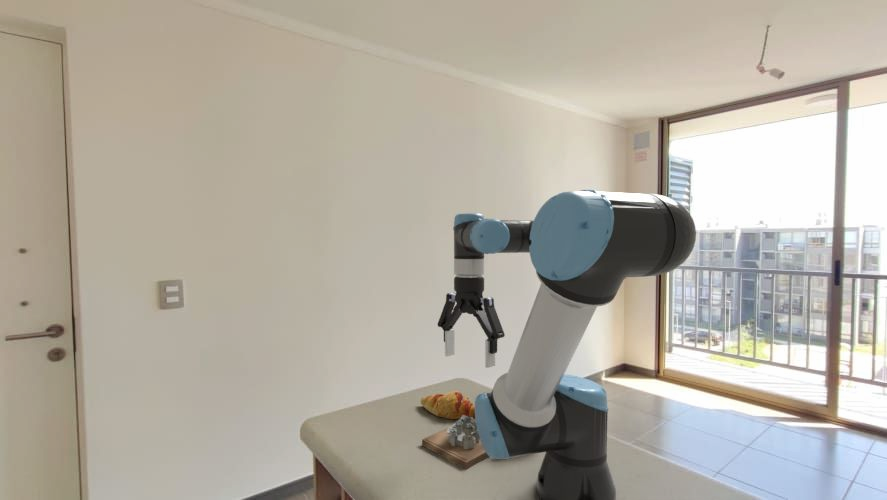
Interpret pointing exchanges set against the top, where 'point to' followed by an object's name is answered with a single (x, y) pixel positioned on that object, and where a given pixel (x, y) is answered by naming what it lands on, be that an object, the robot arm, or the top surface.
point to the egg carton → (464, 433)
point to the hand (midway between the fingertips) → (469, 360)
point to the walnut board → (454, 450)
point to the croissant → (449, 405)
